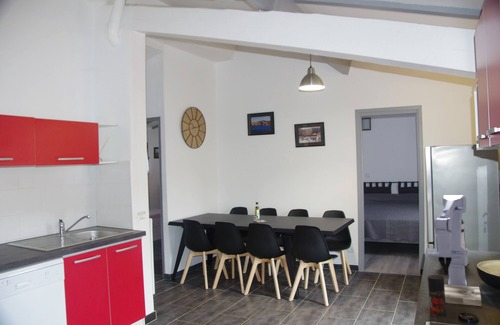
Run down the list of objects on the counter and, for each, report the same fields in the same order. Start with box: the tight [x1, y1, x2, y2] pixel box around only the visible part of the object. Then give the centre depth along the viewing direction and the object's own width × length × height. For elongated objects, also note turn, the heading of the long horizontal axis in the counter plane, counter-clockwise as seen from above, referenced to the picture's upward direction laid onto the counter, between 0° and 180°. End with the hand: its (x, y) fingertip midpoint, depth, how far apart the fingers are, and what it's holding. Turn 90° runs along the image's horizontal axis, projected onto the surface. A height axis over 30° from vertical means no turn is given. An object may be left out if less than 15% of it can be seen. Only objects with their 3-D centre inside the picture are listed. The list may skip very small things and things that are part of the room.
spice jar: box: [427, 274, 447, 318], centre depth 162 cm, size 6×6×15 cm
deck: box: [444, 284, 482, 307], centre depth 178 cm, size 18×17×2 cm
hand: (446, 273), depth 182 cm, fingers closed
